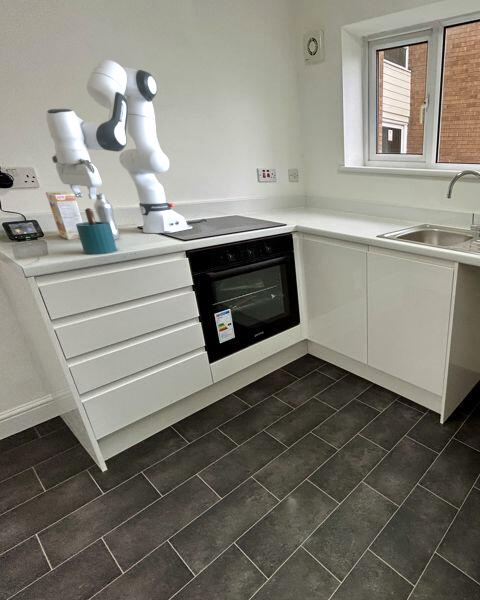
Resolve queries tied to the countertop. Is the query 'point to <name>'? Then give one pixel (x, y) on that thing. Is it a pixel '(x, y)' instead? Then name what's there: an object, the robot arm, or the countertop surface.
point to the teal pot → (96, 238)
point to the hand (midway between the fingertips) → (86, 198)
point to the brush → (90, 216)
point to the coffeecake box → (65, 213)
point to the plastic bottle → (106, 213)
